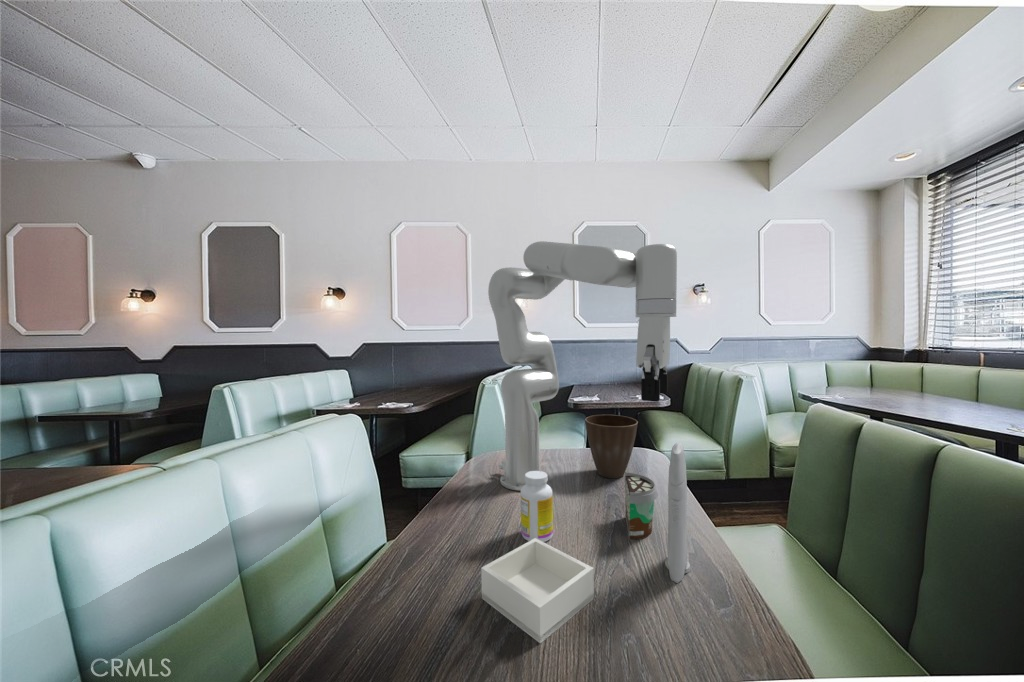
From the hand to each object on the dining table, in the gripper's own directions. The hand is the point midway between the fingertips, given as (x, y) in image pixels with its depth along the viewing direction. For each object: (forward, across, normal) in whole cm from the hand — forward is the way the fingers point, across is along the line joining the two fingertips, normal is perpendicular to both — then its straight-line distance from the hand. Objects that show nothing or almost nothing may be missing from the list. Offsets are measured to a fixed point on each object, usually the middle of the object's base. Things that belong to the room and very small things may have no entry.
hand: (655, 396), depth 77 cm
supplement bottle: (+30, +9, -22) cm, 38 cm away
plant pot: (+30, -33, -18) cm, 48 cm away
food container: (+30, -5, -3) cm, 30 cm away
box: (+29, +26, -13) cm, 41 cm away
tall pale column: (+30, +6, +5) cm, 31 cm away
